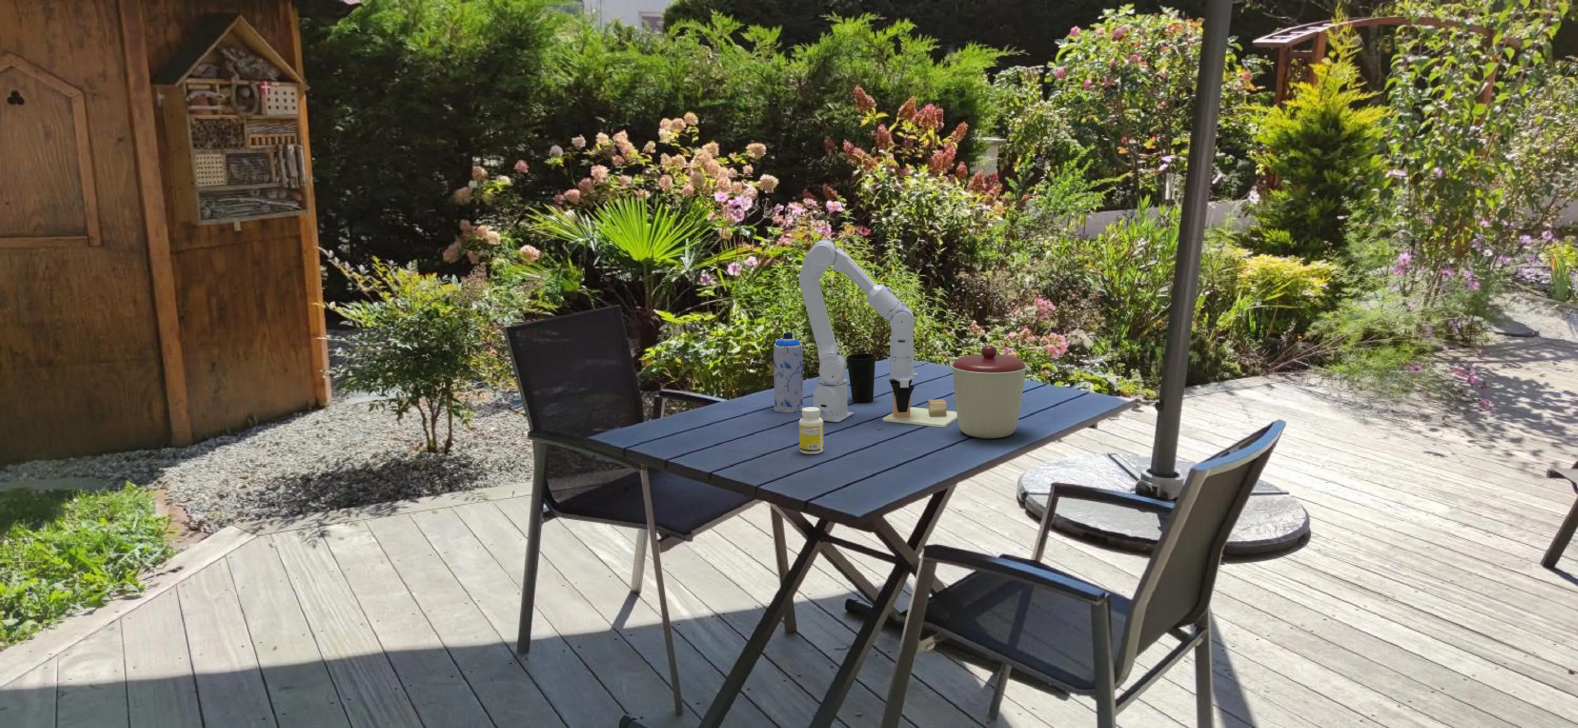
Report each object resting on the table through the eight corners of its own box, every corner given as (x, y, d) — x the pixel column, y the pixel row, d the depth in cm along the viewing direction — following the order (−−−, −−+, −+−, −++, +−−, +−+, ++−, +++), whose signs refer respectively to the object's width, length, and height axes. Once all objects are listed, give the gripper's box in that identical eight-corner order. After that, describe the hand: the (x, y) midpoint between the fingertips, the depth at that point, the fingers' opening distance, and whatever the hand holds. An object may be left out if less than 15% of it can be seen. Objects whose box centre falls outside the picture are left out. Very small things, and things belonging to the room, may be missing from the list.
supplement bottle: (809, 446, 258) (809, 404, 256) (828, 450, 254) (828, 408, 252) (794, 452, 254) (794, 409, 252) (813, 456, 250) (813, 413, 248)
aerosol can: (806, 411, 291) (805, 334, 287) (776, 413, 290) (774, 335, 286) (801, 404, 298) (800, 329, 294) (771, 406, 297) (770, 330, 293)
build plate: (944, 427, 273) (944, 425, 273) (882, 420, 280) (882, 418, 280) (962, 414, 285) (962, 412, 285) (903, 408, 292) (903, 406, 292)
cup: (877, 403, 298) (875, 358, 295) (848, 404, 298) (846, 359, 296) (877, 396, 305) (875, 352, 302) (848, 397, 306) (846, 353, 303)
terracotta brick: (910, 417, 281) (910, 397, 280) (894, 417, 281) (894, 397, 280) (908, 413, 285) (908, 393, 284) (892, 413, 285) (892, 394, 284)
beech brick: (946, 416, 281) (946, 403, 280) (930, 416, 281) (930, 403, 280) (944, 412, 285) (944, 399, 284) (928, 412, 285) (928, 399, 284)
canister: (1026, 445, 257) (1029, 353, 253) (946, 441, 260) (947, 351, 256) (1026, 425, 274) (1028, 339, 270) (951, 422, 278) (952, 337, 274)
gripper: (921, 361, 273) (920, 416, 276) (914, 350, 287) (914, 402, 290) (892, 362, 273) (891, 416, 276) (886, 350, 287) (886, 403, 290)
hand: (901, 409), depth 283 cm, fingers closed on terracotta brick, 4 cm apart
